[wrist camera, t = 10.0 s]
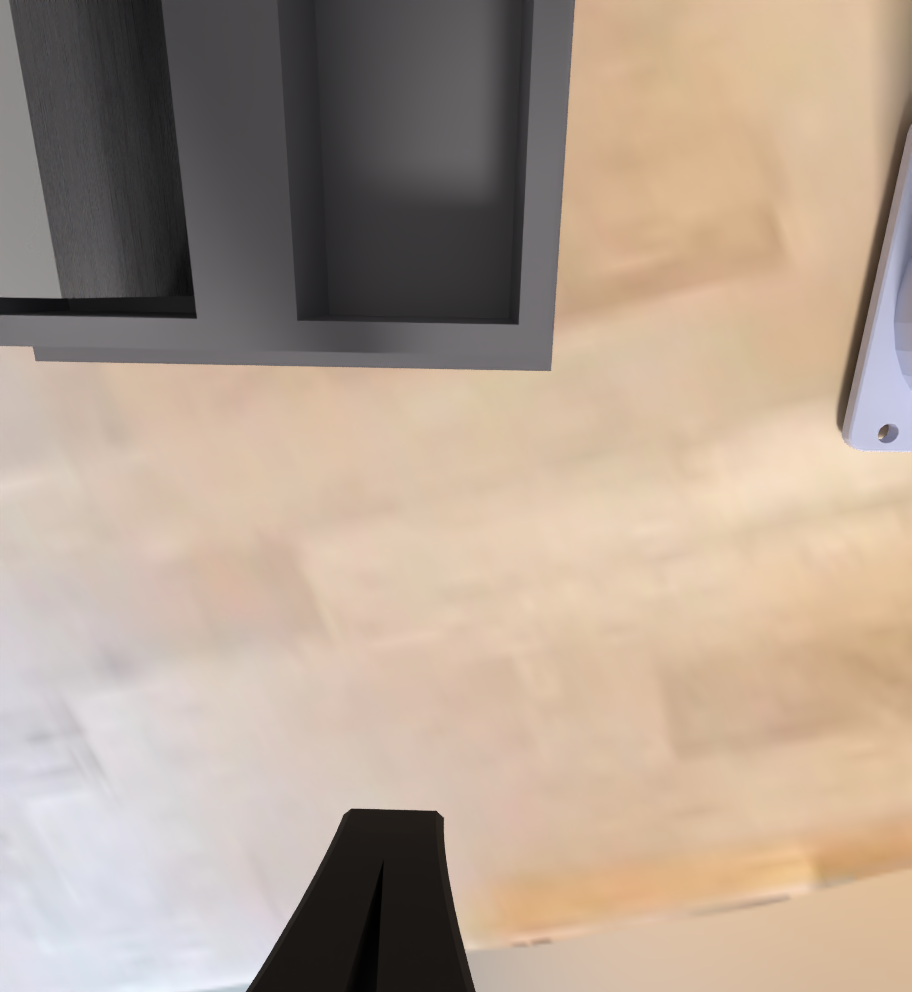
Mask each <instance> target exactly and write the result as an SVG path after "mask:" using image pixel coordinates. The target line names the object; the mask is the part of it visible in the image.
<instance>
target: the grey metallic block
mask: <svg viewBox="0 0 912 992" xmlns="http://www.w3.org/2000/svg"><path fill="white" fill-rule="evenodd" d="M161 296H194V287H193V278H192V269H191V260H190V251H189V243H188V234H187V225H186V216H185V207H184V198H183V189H182V180H181V171H180V162H179V153H178V144H177V135H176V127H175V118H174V109H173V100H172V91H171V82H170V73H169V64H168V55H167V46H166V37H165V28H164V20H163V11H162V2H161V0H0V297H11V298H109V297H161Z"/></svg>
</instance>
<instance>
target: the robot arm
mask: <svg viewBox="0 0 912 992" xmlns="http://www.w3.org/2000/svg"><path fill="white" fill-rule="evenodd" d="M886 424H888V425H889V431H888V433H887V435H886V436H885V437H883V438H882V439H878V432H879V430H880V428H882V427H883V426H884V425H886ZM842 438H843V440H844V442H845V443H846V444H847V445H848V446H850V447H852V448H854V449H856V450H861V451H880V452H912V124H911V126H910V128H909V131H908V133H907V138H906V142H905V147H904V151H903V156H902V160H901V165H900V169H899V174H898V179H897V183H896V188H895V192H894V197H893V201H892V206H891V210H890V215H889V219H888V224H887V229H886V233H885V238H884V242H883V247H882V251H881V256H880V260H879V265H878V270H877V274H876V279H875V283H874V288H873V292H872V297H871V301H870V306H869V310H868V315H867V320H866V324H865V329H864V333H863V338H862V342H861V347H860V351H859V356H858V360H857V365H856V370H855V374H854V379H853V383H852V388H851V392H850V397H849V401H848V406H847V411H846V415H845V420H844V424H843V429H842ZM246 992H476V991H475V988H474V984H473V981H472V977H471V973H470V969H469V966H468V961H467V957H466V953H465V950H464V946H463V942H462V938H461V934H460V930H459V926H458V921H457V917H456V912H455V908H454V902H453V897H452V892H451V887H450V881H449V875H448V869H447V862H446V854H445V844H444V818H443V817H442V816H441V815H440V814H439V813H438V812H437V811H420V810H383V809H350V810H349V811H348V812H347V813H345V814H344V815H343V818H342V820H341V822H340V825H339V827H338V829H337V832H336V834H335V836H334V838H333V840H332V842H331V844H330V846H329V848H328V850H327V852H326V854H325V856H324V858H323V860H322V862H321V864H320V866H319V868H318V870H317V872H316V874H315V876H314V878H313V879H312V881H311V883H310V885H309V887H308V889H307V890H306V892H305V894H304V896H303V898H302V900H301V901H300V903H299V905H298V907H297V908H296V910H295V912H294V913H293V915H292V917H291V919H290V920H289V922H288V924H287V925H286V927H285V929H284V930H283V932H282V934H281V936H280V937H279V939H278V941H277V942H276V944H275V946H274V947H273V949H272V951H271V953H270V954H269V956H268V958H267V959H266V961H265V963H264V964H263V966H262V967H261V969H260V971H259V972H258V974H257V975H256V977H255V979H254V980H253V982H252V983H251V985H250V986H249V988H248V989H247V991H246Z"/></svg>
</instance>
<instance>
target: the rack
mask: <svg viewBox="0 0 912 992" xmlns="http://www.w3.org/2000/svg"><path fill="white" fill-rule="evenodd" d="M161 2H162V11H163V20H164V28H165V37H166V46H167V55H168V64H169V73H170V82H171V91H172V100H173V109H174V118H175V127H176V135H177V144H178V153H179V162H180V171H181V180H182V189H183V198H184V207H185V216H186V225H187V234H188V243H189V251H190V260H191V269H192V278H193V287H194V296H161V297H109V298H11V297H0V346H33V349H34V354H35V360H36V361H59V362H111V363H163V364H215V365H267V366H319V367H371V368H422V369H474V370H526V371H551V361H552V345H553V330H554V314H555V299H556V284H557V268H558V253H559V237H560V222H561V207H562V191H563V176H564V160H565V145H566V130H567V114H568V99H569V83H570V68H571V53H572V37H573V22H574V7H575V0H161Z"/></svg>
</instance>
